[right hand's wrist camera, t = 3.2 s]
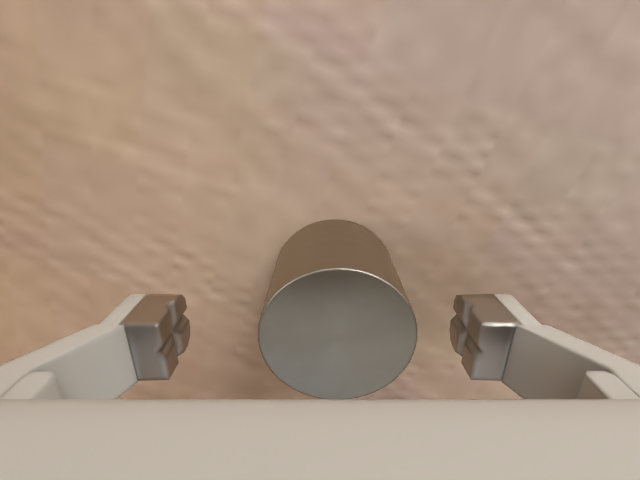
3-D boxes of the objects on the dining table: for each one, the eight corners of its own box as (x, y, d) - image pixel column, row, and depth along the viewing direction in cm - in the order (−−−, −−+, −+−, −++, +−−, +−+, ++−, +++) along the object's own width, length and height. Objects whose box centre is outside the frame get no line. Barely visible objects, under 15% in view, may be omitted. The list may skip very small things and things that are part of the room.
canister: (298, 202, 13) (287, 244, 9) (411, 243, 13) (446, 300, 10) (261, 302, 14) (238, 375, 11) (364, 335, 15) (377, 416, 11)
